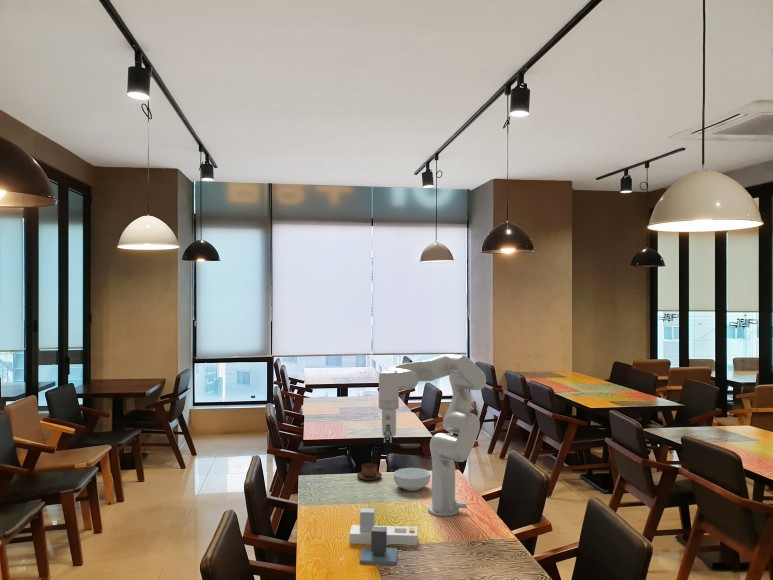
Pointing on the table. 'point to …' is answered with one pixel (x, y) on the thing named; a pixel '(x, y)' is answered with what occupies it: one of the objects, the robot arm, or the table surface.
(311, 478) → the table surface
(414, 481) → the cereal bowl
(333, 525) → the table surface
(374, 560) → the mat
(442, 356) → the robot arm
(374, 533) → the block
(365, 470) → the cup and saucer
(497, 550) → the table surface
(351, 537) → the power strip
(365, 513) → the block
